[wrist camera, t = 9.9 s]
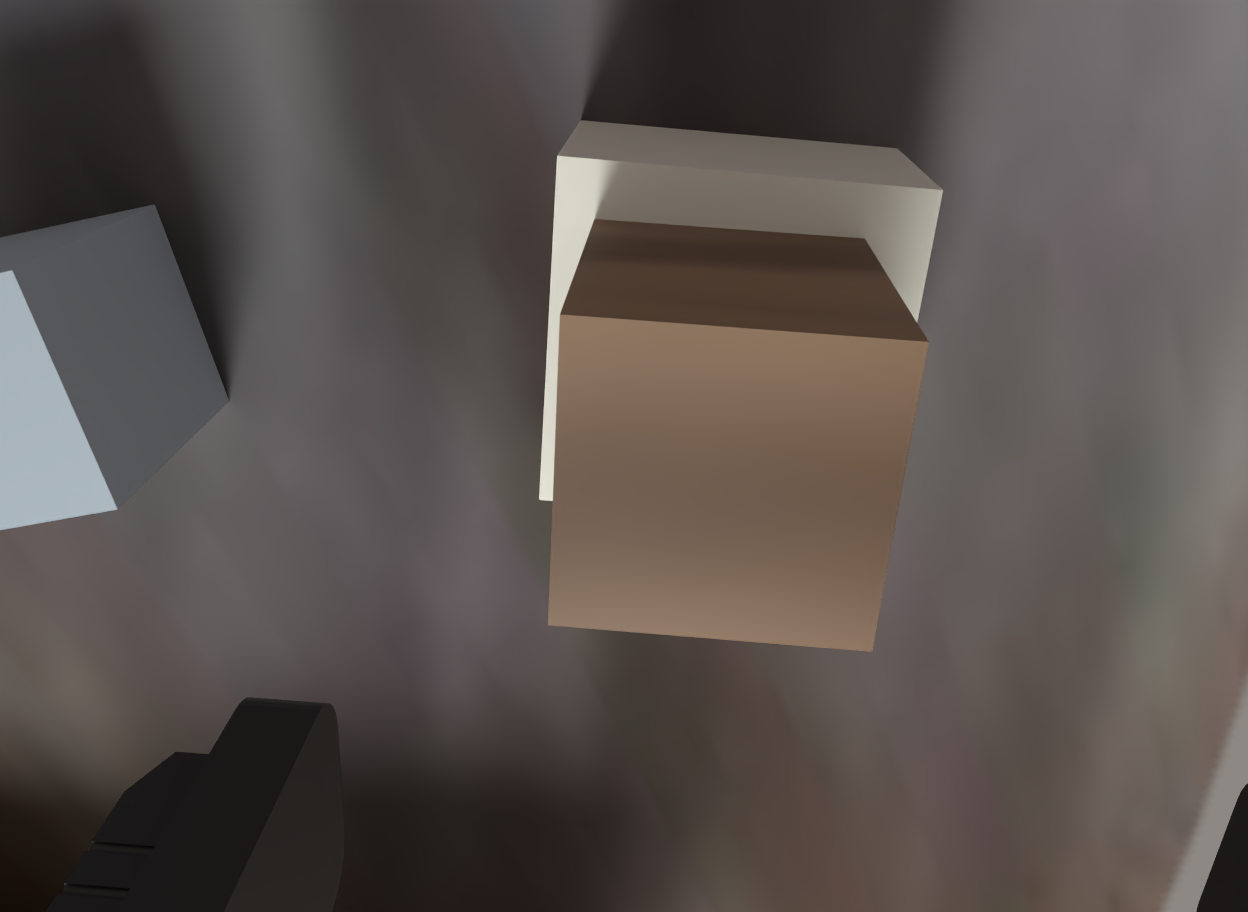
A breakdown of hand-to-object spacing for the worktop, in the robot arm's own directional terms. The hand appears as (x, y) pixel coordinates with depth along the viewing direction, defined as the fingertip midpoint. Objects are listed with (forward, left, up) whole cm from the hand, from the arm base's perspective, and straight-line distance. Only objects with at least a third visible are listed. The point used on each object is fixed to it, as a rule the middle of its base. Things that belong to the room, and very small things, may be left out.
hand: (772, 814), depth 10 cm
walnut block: (0, 0, -13) cm, 13 cm away
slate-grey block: (+2, -15, -18) cm, 23 cm away
